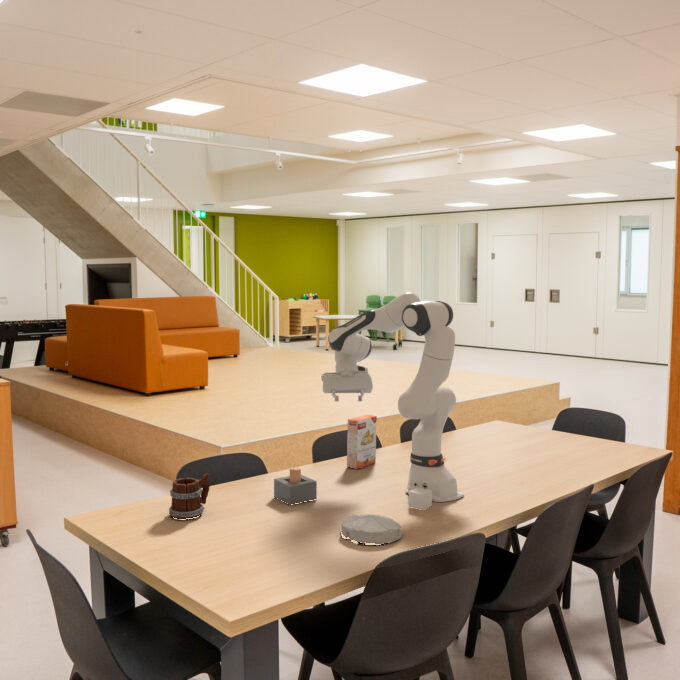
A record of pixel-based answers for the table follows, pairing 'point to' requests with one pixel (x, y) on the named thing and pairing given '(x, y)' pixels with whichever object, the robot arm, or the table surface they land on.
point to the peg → (295, 475)
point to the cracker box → (361, 441)
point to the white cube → (420, 498)
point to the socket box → (295, 490)
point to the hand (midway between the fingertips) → (348, 400)
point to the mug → (188, 497)
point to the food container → (371, 529)
